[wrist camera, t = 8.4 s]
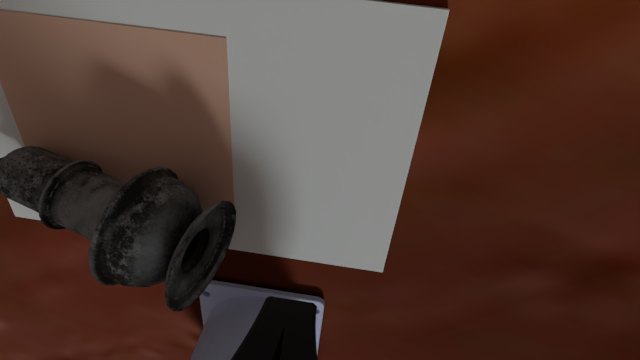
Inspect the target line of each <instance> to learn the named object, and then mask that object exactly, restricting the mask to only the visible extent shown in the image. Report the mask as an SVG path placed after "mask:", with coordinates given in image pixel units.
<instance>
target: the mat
mask: <svg viewBox="0 0 640 360" xmlns="http://www.w3.org/2000/svg"><path fill="white" fill-rule="evenodd" d="M449 11H450V10H449V9H448V8H440V7H431V6H423V5H414V4H405V3H397V2H388V1H380V0H0V158H2V157H5V156H6V155H7V154H8V153H10V152H12V151H13V150H16V149H18V148H21V147H24V146H35V147H41V148H44V149H46V150H49V151H51V152H53V153H56V154H58V155H60V156H62V157H65V158H67V159H69V160H71V161H77V160H91V161H93V162H95V163H96V164H98V165H99V166H100V168H101V169H102V171H103V173H105V174H107V175H109V176H111V177H114V178H116V179H118V180H120V181H124V182H128V181H129V180H131V179H132V178H133V177H134V176H136V175H138V174H139V173H141V172H143V171H145V170H147V169H150V168H154V167H159V166H160V167H165V168H169V169H171V170H172V171H173V172H174V173H176V174H177V177H178V179H179V180H180V181H182V182H184V183H185V184H186V185H187V186H188V187H189V188H190V189H191V190H192V191H193V192H194V193H195V194H196V195H197V196H198V199H199V201H200V204H201V207H202V210H203V212H204V211H205V210H206V209H209V208H210V207H211V206H212V205H214V204H216V203H218V202H220V201H222V200H224V201H230V202H232V203H233V205H234V206H235V209H236V223H235V229H234V233H233V236H232V239H231V243H230V245H229V248H228V249H233V250H239V251H246V252H252V253H259V254H265V255H272V256H278V257H285V258H291V259H298V260H305V261H311V262H318V263H324V264H331V265H337V266H344V267H350V268H357V269H364V270H370V271H377V272H383V268H384V265H385V261H386V257H387V253H388V249H389V245H390V241H391V237H392V233H393V229H394V225H395V222H396V218H397V214H398V210H399V206H400V202H401V198H402V194H403V190H404V186H405V183H406V179H407V175H408V171H409V167H410V163H411V159H412V155H413V151H414V147H415V143H416V140H417V136H418V132H419V128H420V124H421V120H422V116H423V112H424V108H425V104H426V100H427V97H428V93H429V89H430V85H431V81H432V77H433V73H434V69H435V65H436V61H437V57H438V54H439V50H440V46H441V42H442V38H443V34H444V30H445V26H446V22H447V18H448V15H449ZM7 199H8V198H7ZM8 201H9V203H10V205H11V208H12V210H13V212H14V214H15V216H16V217H23V218H29V219H36V220H41V219H40V217H39V213H38V212H36V211H34V210H32V209H29V208H27V207H25V206H23V205H21V204H19V203H17V202H15V201H13V200H11V199H8Z"/></svg>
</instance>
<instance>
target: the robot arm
mask: <svg viewBox="0 0 640 360" xmlns="http://www.w3.org/2000/svg"><path fill="white" fill-rule="evenodd" d="M199 298H200V305H201V313H202V320H203V330H202V333H201V335H200V337H199V340H198V342H197V344H196V347H195V349H194V352H193V354H192V356H191V359H190V360H317V353H318V346H319V339H320V332H321V325H322V318H323V311H324V304H325V302H324V300H323V299H322V298H320V297H317V296H311V295H305V294H298V293H292V292H285V291H279V290H273V289H266V288H260V287H254V286H247V285H241V284H235V283H228V282H222V281H216V280H212V281H211V282H210V283H209V285H208V286H207V288H206V289H205V290H204V292H203V293H202V294H201V295H200V296H199Z"/></svg>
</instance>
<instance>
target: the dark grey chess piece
mask: <svg viewBox="0 0 640 360" xmlns="http://www.w3.org/2000/svg"><path fill="white" fill-rule="evenodd" d="M0 192H1V193H2V194H3V195H4V196H5V197H7V198H8V199H11V200H13V201H15V202H17V203H19V204H21V205H23V206H25V207H27V208H29V209H32V210H34V211H36V212H38V213H39V217H40V219H41V221H42V223H43V224H45V225H46V226H47V227H49V228H52V229H56V230H57V229H65V228H67V229H69V230H71V231H74V232H76V233H78V234H80V235H82V236H84V237H86V238H88V239H89V240H90V241H91V243H90V248H89V268H90V271H91V273H92V275H93V278H94V279H96V280H97V281H98V282H100V283H101V284H103V285H112V286H113V285H116V284H121V285H123V286H131V287H150V286H153V285H156V284H159V283H161V282H164V281H166V282H165V287H166V291H165V297H166V302H167V306H168V307H169V308H170V309H171V310H173V311H182V310H183V309H185V308H187V307H189V306H190V305H191V304H192V303H193V302H194V301H196V300H197V298H198V297H199V296H200V295H201V294H202V293H203V292H204V290H205V289H206V288H207V286H208V285H209V283H210V282H211V281H212V279H213V277H214V276H215V274H216V272H217V271H218V269H219V267H220V265H221V263H222V261H223V259H224V257H225V255H226V253H227V250H228V248H229V245H230V243H231V239H232V236H233V233H234V229H235V223H236V209H235V206H234V205H233V203H232V202H230V201H224V200H222V201H220V202H218V203H216V204H214V205H212V206H211V207H210V208H209V209H206V210H205V211H204V212H203V210H202V207H201V204H200V201H199V199H198V196H197V195H196V194H195V193H194V192H193V191H192V190H191V189H190V188H189V187H188V186H187V185H186V184H185V183H184V182H182V181H180V180H179V179H178V177H177V174H176V173H174V172H173V171H172V170H171V169H169V168H165V167H160V166H159V167H154V168H150V169H147V170H145V171H143V172H141V173H139V174H138V175H136V176H134V177H133V178H132V179H131V180H129V181H128V182H124V181H120V180H118V179H116V178H114V177H111V176H109V175H107V174H105V173H103V171H102V169H101V168H100V166H99V165H98V164H96V163H95V162H93V161H91V160H77V161H71V160H69V159H67V158H65V157H62V156H60V155H58V154H56V153H53V152H51V151H49V150H46V149H44V148H41V147H35V146H24V147H21V148H18V149H16V150H13V151H12V152H10V153H8V154H7V155H6V156H5V157H2V158H0Z"/></svg>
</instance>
